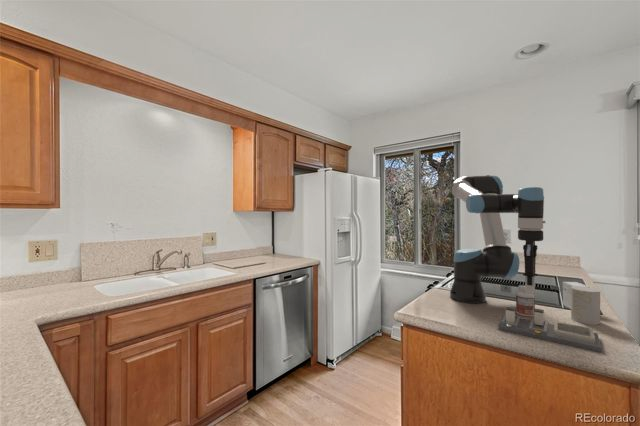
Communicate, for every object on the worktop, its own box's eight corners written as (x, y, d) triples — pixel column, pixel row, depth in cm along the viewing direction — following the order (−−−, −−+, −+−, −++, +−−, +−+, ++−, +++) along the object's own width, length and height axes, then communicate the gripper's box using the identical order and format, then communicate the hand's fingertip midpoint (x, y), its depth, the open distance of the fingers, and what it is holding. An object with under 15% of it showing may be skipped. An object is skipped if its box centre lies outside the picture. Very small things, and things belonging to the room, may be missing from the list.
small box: (590, 312, 116) (590, 286, 116) (574, 311, 117) (574, 286, 117) (577, 306, 124) (577, 281, 124) (562, 305, 125) (562, 281, 125)
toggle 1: (505, 322, 103) (505, 308, 103) (506, 320, 105) (506, 306, 105) (514, 323, 101) (514, 310, 101) (515, 321, 103) (515, 308, 103)
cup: (565, 316, 112) (565, 286, 112) (584, 316, 112) (584, 285, 112) (586, 325, 104) (586, 292, 104) (606, 324, 104) (606, 291, 104)
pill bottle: (521, 310, 119) (521, 284, 119) (538, 315, 114) (538, 287, 114) (512, 312, 116) (512, 285, 116) (529, 318, 111) (529, 289, 111)
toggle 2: (534, 324, 101) (534, 310, 101) (534, 321, 103) (534, 308, 103) (543, 325, 99) (543, 311, 99) (543, 323, 101) (543, 309, 101)
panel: (498, 329, 100) (498, 321, 100) (503, 318, 110) (503, 310, 110) (601, 352, 84) (601, 342, 84) (597, 337, 94) (597, 328, 94)
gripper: (541, 231, 97) (541, 299, 98) (544, 228, 107) (544, 291, 108) (515, 230, 102) (515, 295, 103) (520, 228, 112) (520, 287, 113)
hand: (530, 293), depth 105 cm, fingers closed
